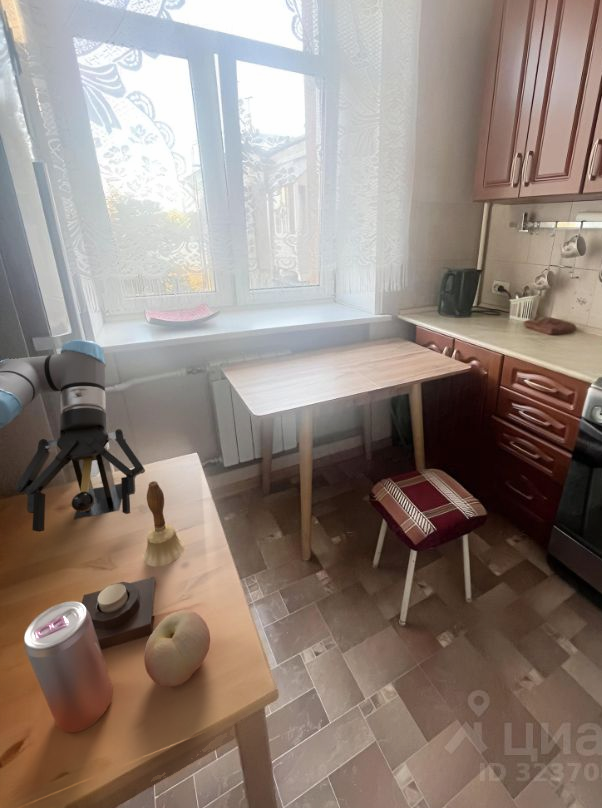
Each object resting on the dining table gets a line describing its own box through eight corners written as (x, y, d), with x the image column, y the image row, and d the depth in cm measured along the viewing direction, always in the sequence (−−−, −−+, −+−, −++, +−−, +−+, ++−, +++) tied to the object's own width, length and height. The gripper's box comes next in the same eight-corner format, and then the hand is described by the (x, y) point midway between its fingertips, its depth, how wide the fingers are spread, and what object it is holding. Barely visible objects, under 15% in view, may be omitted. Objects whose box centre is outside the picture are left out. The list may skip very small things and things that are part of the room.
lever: (96, 512, 73) (91, 503, 71) (73, 517, 72) (67, 508, 70) (102, 449, 82) (97, 439, 79) (81, 452, 81) (76, 442, 78)
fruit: (142, 662, 54) (132, 621, 51) (201, 628, 59) (194, 589, 56) (158, 713, 49) (148, 671, 46) (221, 671, 54) (215, 630, 51)
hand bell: (184, 533, 77) (172, 464, 71) (194, 561, 71) (182, 488, 65) (136, 550, 73) (120, 478, 67) (142, 582, 66) (125, 505, 60)
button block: (72, 659, 54) (65, 639, 53) (86, 604, 62) (80, 586, 61) (152, 634, 58) (148, 615, 57) (156, 586, 66) (153, 568, 64)
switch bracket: (120, 515, 81) (105, 453, 76) (74, 524, 78) (55, 461, 73) (126, 487, 90) (113, 430, 84) (85, 494, 87) (69, 435, 81)
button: (97, 616, 57) (95, 607, 56) (102, 596, 60) (99, 587, 59) (126, 608, 58) (124, 599, 57) (129, 589, 61) (127, 580, 60)
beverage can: (52, 706, 49) (18, 622, 44) (106, 671, 53) (81, 590, 47) (62, 748, 45) (25, 662, 40) (120, 708, 49) (94, 624, 44)
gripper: (-5, 415, 71) (-14, 537, 64) (149, 398, 80) (156, 503, 73) (15, 428, 78) (8, 539, 70) (155, 411, 87) (162, 508, 79)
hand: (83, 521), depth 72 cm, fingers open, 13 cm apart
